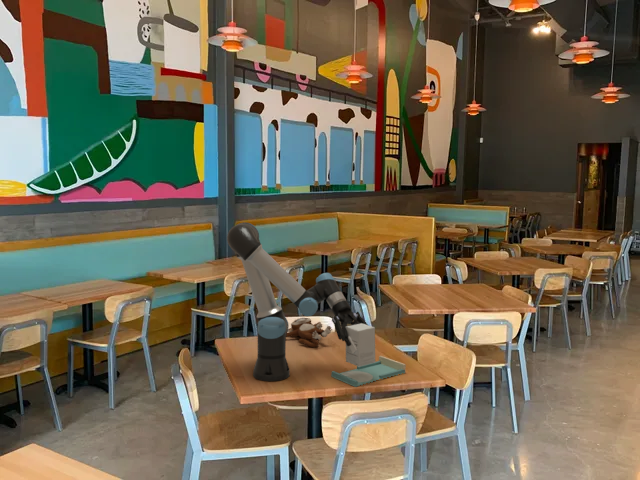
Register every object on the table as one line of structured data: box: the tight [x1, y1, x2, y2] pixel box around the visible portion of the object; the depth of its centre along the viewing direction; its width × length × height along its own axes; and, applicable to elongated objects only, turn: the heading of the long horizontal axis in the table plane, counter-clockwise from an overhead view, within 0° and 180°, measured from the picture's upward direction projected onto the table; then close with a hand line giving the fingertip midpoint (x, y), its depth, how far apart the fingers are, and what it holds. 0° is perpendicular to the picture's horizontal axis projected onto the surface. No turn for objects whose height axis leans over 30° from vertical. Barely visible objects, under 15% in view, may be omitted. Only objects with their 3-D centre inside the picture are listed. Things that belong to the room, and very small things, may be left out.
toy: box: [286, 317, 333, 348], centre depth 290 cm, size 22×10×30 cm
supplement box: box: [345, 323, 376, 367], centre depth 234 cm, size 9×9×15 cm
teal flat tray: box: [330, 355, 407, 388], centre depth 240 cm, size 28×15×4 cm, turn 128°
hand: (364, 349), depth 232 cm, fingers closed on supplement box, 9 cm apart
